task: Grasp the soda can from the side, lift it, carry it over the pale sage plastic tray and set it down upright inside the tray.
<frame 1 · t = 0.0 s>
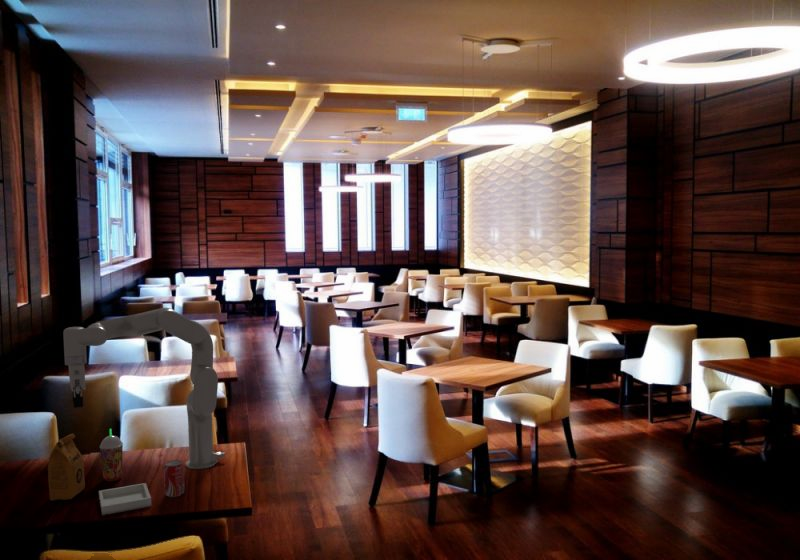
hand: (77, 404, 261), 31 cm above the table, tool pointing down, fingers open, 9 cm apart
coffee package: (68, 496, 253), on the table
smoothie: (112, 479, 269), on the table
tray: (124, 502, 246), on the table
soda can: (174, 495, 252), on the table
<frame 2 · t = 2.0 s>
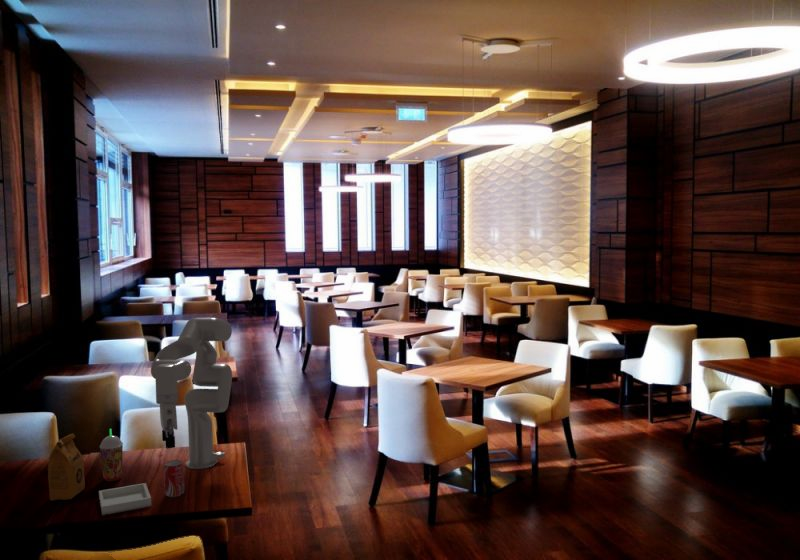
hand: (168, 444, 251), 19 cm above the table, tool pointing down, fingers open, 9 cm apart
nothing on the table moved.
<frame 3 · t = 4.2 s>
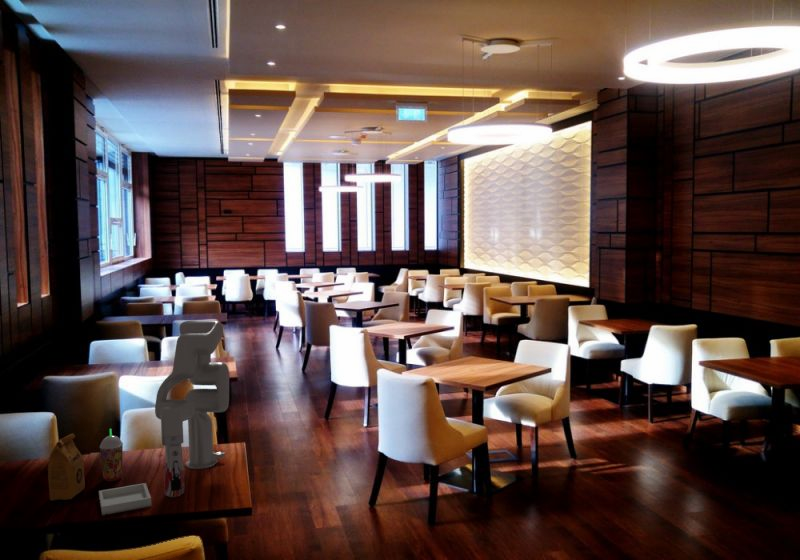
hand: (174, 486, 252), 3 cm above the table, tool pointing down, fingers closed on soda can, 7 cm apart
soda can: (174, 495, 252), on the table, touching gripper
everything else where it was.
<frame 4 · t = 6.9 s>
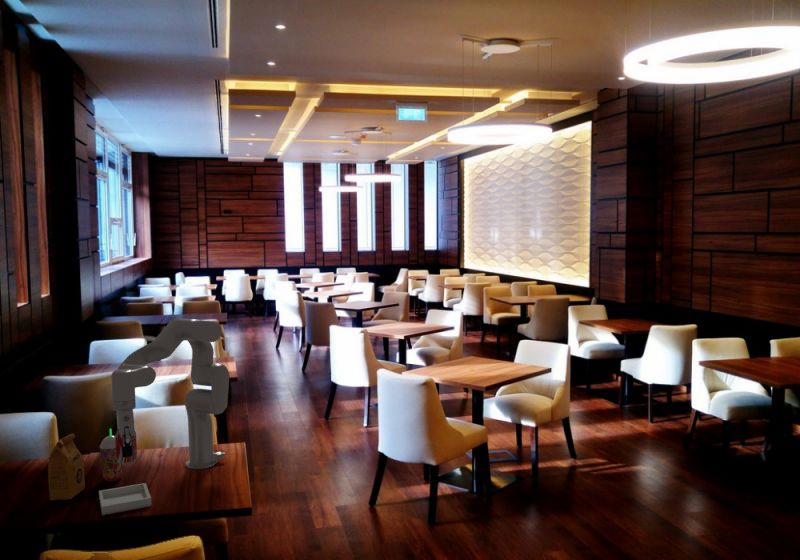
hand: (126, 453, 244), 18 cm above the table, tool pointing down, fingers closed on soda can, 7 cm apart
soda can: (126, 462, 245), point 15 cm above the table, touching gripper
everything else where it was.
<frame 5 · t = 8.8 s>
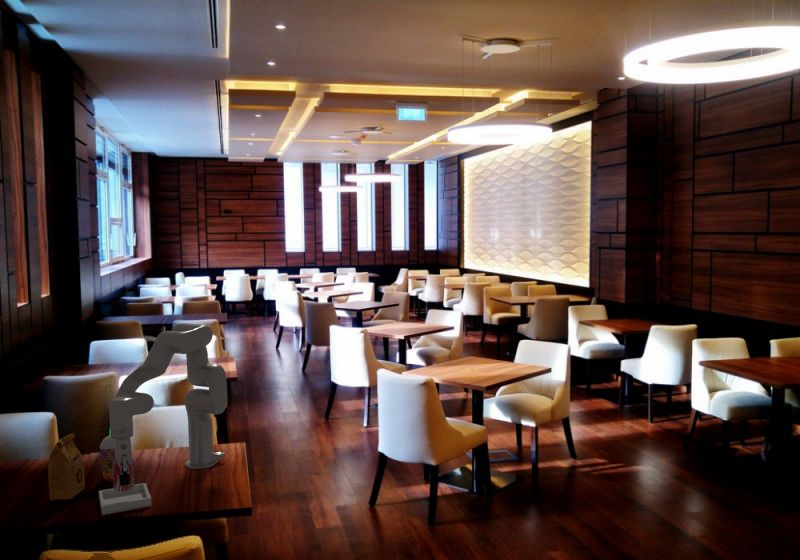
hand: (123, 480, 245), 8 cm above the table, tool pointing down, fingers closed on soda can, 7 cm apart
soda can: (124, 490, 245), point 5 cm above the table, touching gripper
everything else where it was.
when the fingers open (5 cm above the table, at t = 10.0 s): soda can drops 1 cm, resting on tray.
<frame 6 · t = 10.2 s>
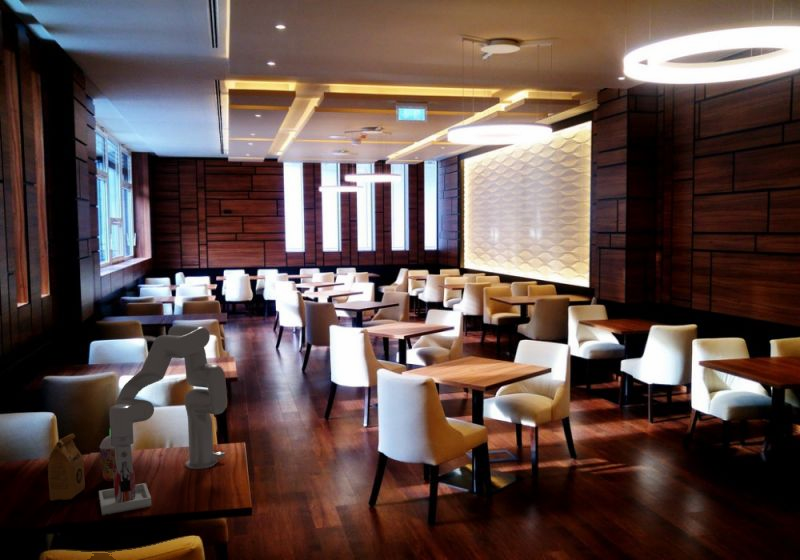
hand: (124, 486, 245), 6 cm above the table, tool pointing down, fingers open, 9 cm apart
soda can: (125, 500, 246), resting on tray
everything else where it was.
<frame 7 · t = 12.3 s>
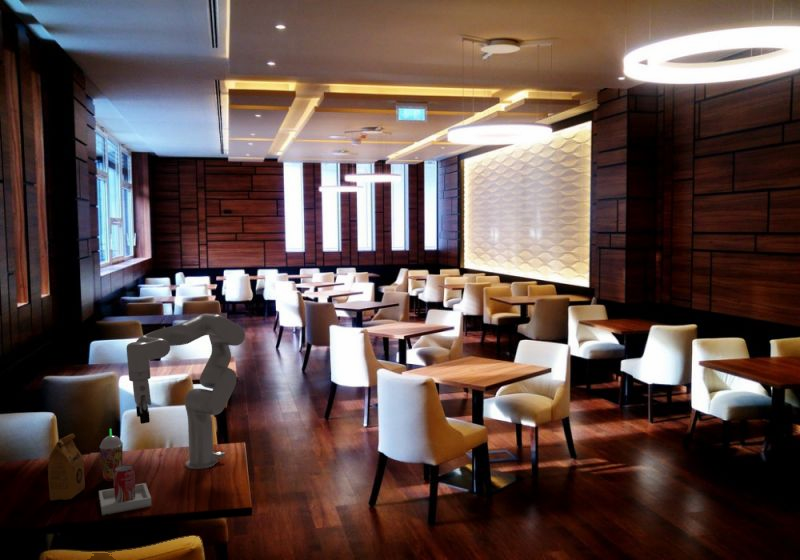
hand: (143, 419, 258), 26 cm above the table, tool pointing down, fingers open, 9 cm apart
nothing on the table moved.
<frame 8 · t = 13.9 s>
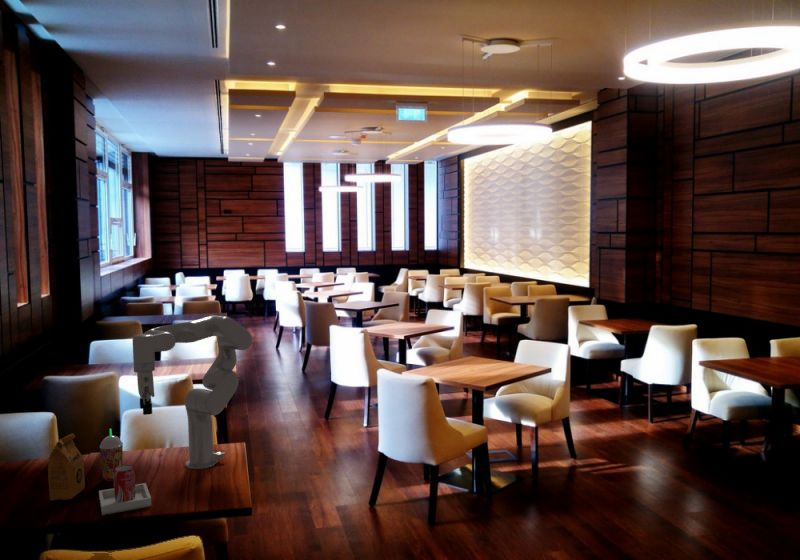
hand: (146, 411, 261), 28 cm above the table, tool pointing down, fingers open, 9 cm apart
nothing on the table moved.
at the end: soda can inside the target area on the tray (0.4 cm from its centre), point 0.4 cm above the tray's base; soda can tilted 0°; the gripper is holding nothing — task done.
